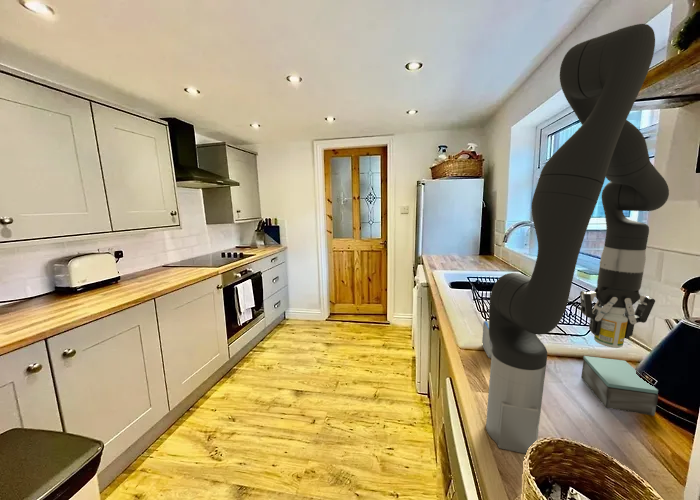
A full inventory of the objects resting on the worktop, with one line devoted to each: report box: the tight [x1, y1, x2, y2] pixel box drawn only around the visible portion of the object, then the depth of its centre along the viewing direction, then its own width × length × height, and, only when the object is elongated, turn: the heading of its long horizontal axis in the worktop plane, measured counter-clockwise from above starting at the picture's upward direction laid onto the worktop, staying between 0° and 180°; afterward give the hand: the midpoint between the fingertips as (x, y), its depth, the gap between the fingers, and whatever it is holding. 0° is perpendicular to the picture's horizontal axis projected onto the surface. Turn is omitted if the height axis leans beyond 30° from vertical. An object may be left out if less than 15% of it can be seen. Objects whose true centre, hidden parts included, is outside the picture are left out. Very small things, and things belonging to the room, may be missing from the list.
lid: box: [582, 355, 659, 395], centre depth 71 cm, size 12×9×1 cm
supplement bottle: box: [593, 307, 628, 349], centre depth 70 cm, size 5×5×10 cm
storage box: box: [580, 359, 659, 417], centre depth 71 cm, size 12×9×5 cm
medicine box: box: [481, 320, 492, 359], centre depth 91 cm, size 8×4×9 cm, turn 169°
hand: (609, 335), depth 71 cm, fingers closed on supplement bottle, 5 cm apart
